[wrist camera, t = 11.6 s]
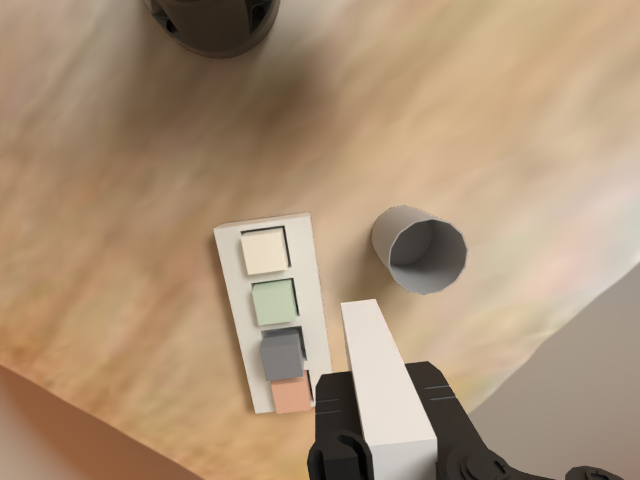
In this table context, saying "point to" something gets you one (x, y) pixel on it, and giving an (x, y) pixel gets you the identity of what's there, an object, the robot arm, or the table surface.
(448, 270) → the cup
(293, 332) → the key charcoal
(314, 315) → the keypad
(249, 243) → the key cream
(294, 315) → the key sage
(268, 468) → the table surface
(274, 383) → the key terracotta
